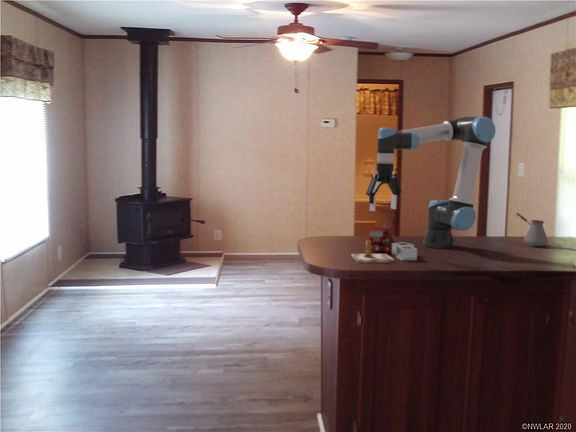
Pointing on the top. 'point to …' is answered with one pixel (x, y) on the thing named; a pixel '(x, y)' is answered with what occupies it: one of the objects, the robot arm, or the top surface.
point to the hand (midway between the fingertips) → (383, 209)
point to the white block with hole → (394, 245)
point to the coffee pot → (535, 233)
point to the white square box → (406, 253)
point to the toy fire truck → (380, 241)
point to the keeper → (371, 256)
